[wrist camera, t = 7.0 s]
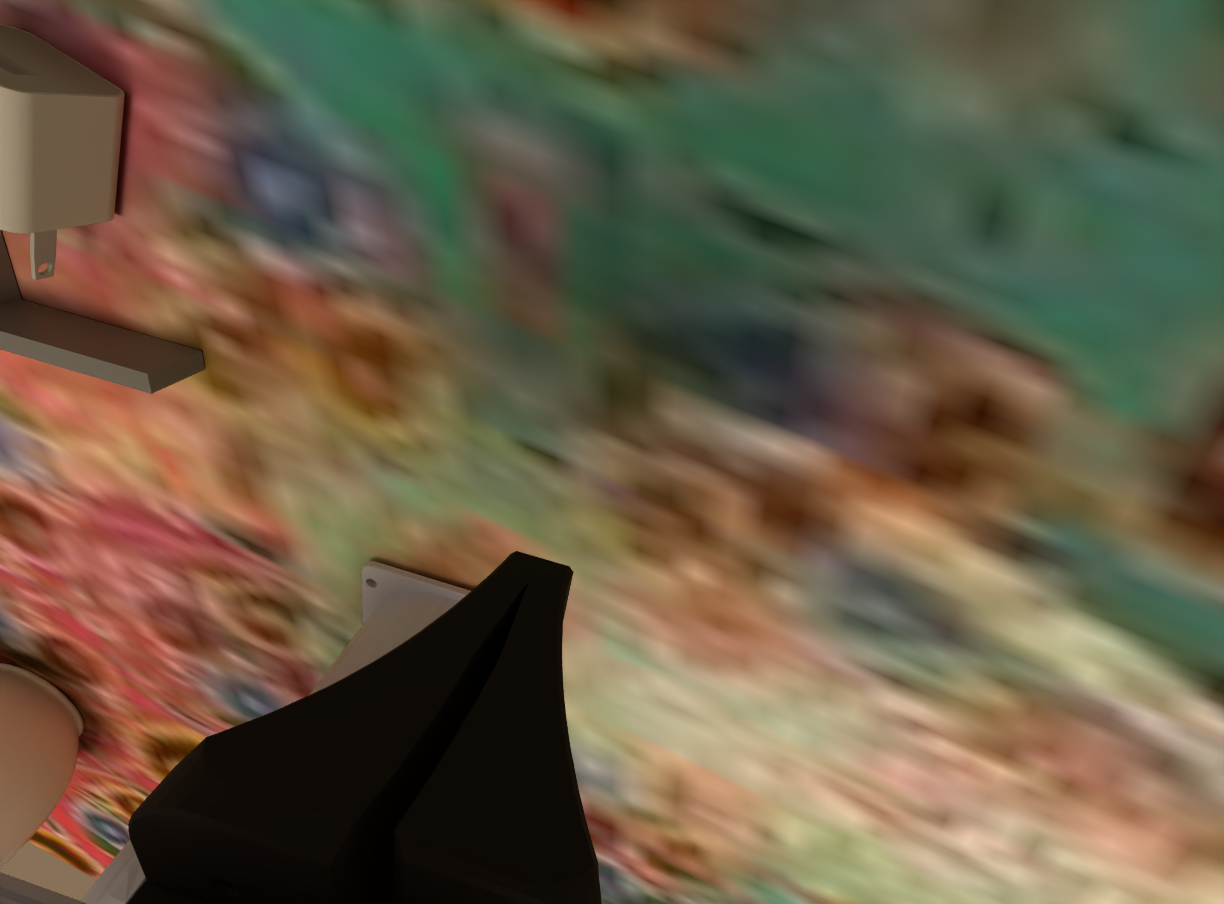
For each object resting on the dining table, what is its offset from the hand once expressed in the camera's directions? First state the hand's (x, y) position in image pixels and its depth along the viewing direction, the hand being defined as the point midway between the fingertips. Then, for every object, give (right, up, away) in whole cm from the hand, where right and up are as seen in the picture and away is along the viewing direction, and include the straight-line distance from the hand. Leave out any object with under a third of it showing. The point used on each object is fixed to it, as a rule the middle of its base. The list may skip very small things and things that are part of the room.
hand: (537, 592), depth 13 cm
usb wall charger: (-17, +13, +8) cm, 23 cm away
